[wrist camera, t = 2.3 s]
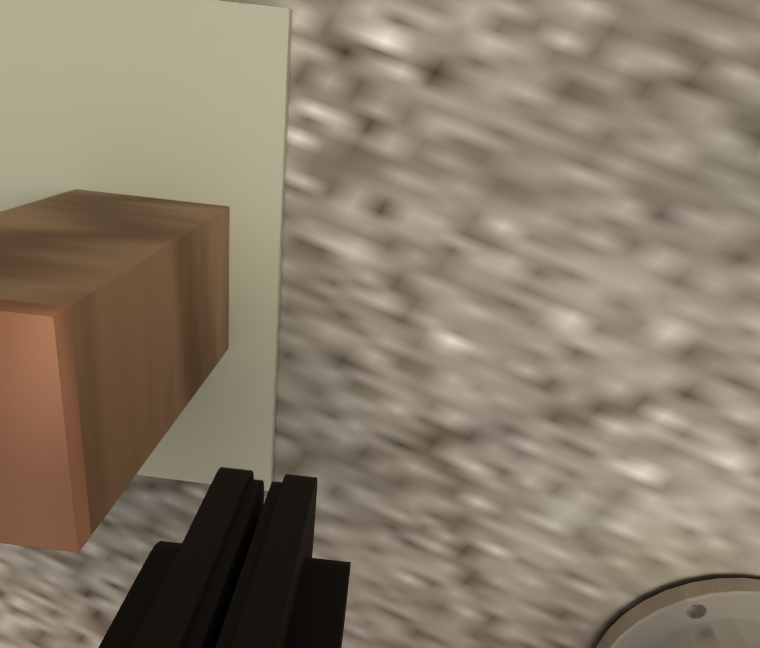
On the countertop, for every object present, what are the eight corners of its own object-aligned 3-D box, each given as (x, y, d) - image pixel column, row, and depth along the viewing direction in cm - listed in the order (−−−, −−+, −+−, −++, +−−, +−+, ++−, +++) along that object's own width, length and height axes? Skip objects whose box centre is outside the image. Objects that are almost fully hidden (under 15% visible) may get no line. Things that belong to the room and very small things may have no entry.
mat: (292, 9, 21) (289, 8, 21) (272, 485, 28) (270, 491, 28) (-265, -49, 22) (-280, -52, 21) (-142, 433, 29) (-152, 439, 28)
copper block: (229, 206, 23) (53, 316, 12) (228, 348, 25) (78, 552, 14) (75, 188, 23) (-239, 282, 12) (88, 332, 26) (-169, 521, 14)
